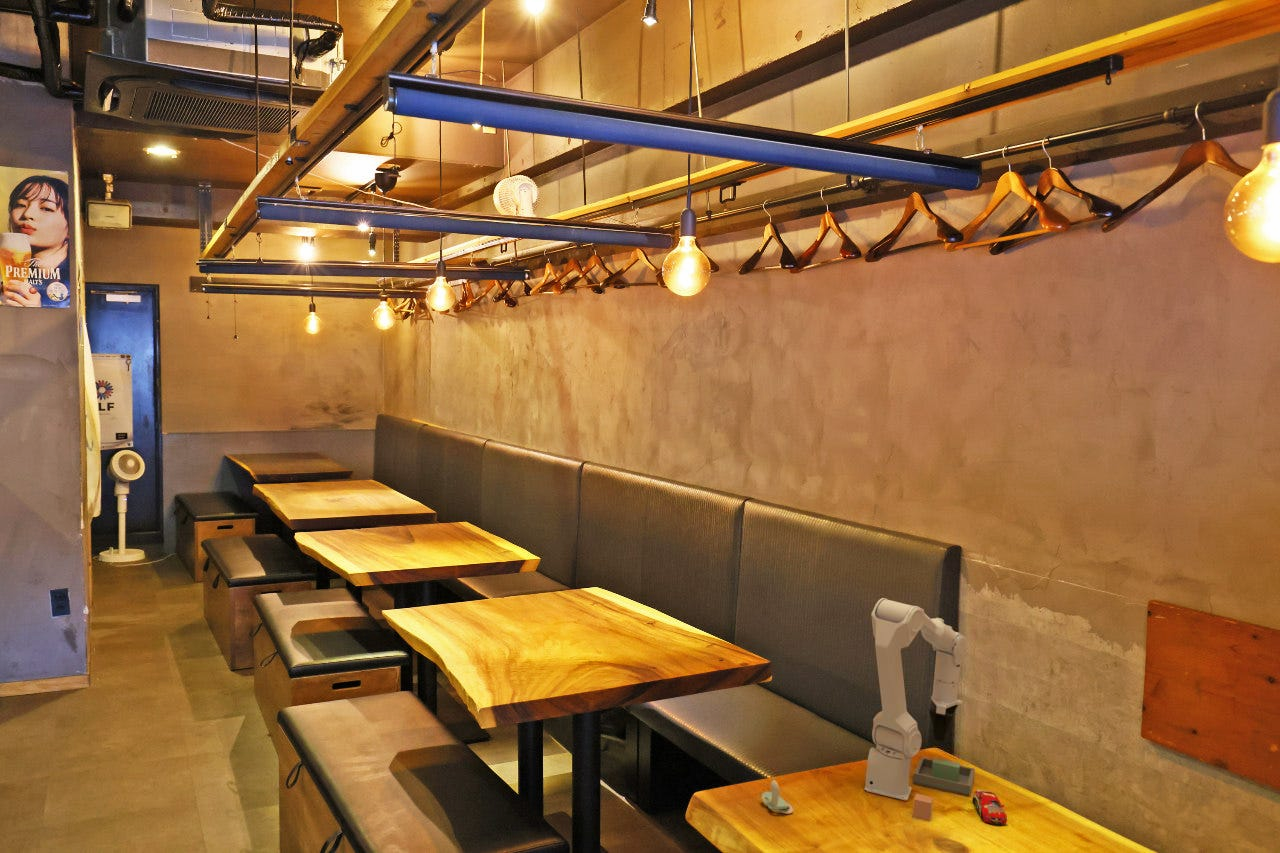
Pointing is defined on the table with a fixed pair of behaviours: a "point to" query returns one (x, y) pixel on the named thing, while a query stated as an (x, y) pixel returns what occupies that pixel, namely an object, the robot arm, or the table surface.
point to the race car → (989, 807)
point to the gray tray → (925, 779)
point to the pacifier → (776, 800)
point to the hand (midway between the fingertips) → (941, 735)
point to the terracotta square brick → (922, 807)
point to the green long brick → (945, 769)
